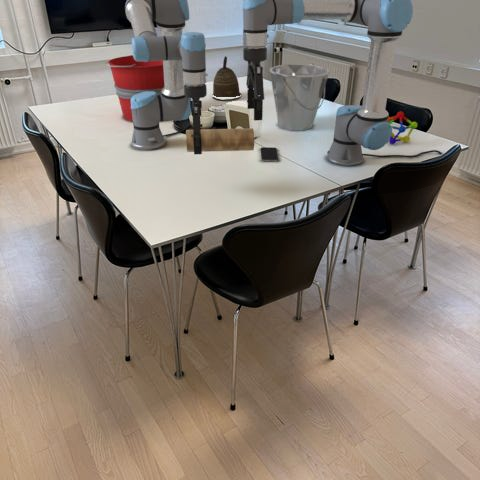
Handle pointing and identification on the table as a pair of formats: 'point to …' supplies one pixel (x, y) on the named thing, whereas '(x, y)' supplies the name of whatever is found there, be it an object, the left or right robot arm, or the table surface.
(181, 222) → the table surface
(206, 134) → the brown cylinder
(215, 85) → the bell
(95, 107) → the table surface
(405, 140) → the educational toy
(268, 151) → the smartphone
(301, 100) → the bucket
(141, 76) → the bucket
